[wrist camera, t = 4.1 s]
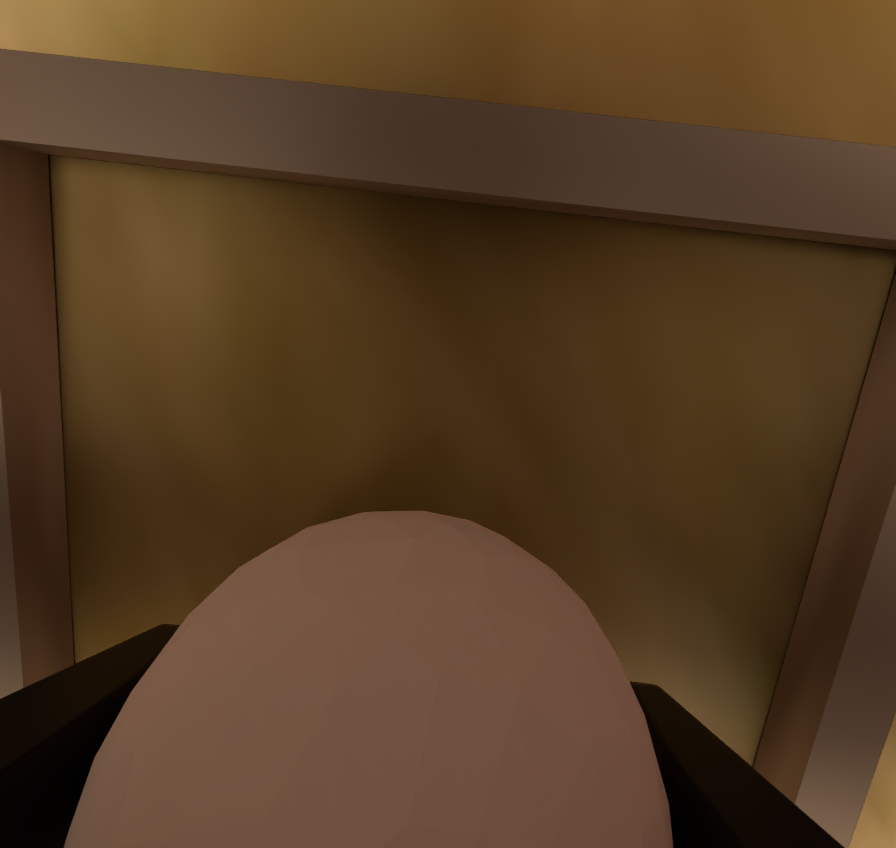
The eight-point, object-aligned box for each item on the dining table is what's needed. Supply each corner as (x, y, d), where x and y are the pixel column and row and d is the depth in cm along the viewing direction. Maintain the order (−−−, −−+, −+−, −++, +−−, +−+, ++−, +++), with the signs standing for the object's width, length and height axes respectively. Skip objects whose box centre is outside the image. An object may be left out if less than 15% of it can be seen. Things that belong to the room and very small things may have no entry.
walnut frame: (752, 959, 12) (782, 1035, 11) (34, 862, 12) (-14, 927, 11) (1000, 181, 8) (1085, 168, 7) (-28, 68, 8) (-109, 36, 7)
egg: (386, 798, 10) (199, 1929, 3) (181, 565, 10) (-687, 1447, 2) (657, 645, 10) (1197, 1770, 2) (459, 369, 9) (377, 865, 1)
